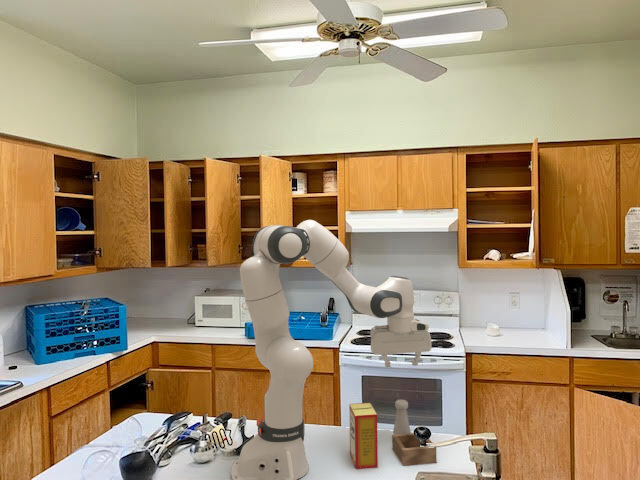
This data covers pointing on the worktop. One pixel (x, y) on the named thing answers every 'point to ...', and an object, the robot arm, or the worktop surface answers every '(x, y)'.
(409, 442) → the box
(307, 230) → the robot arm
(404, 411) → the salt shaker
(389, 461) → the worktop surface
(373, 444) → the baking soda box
